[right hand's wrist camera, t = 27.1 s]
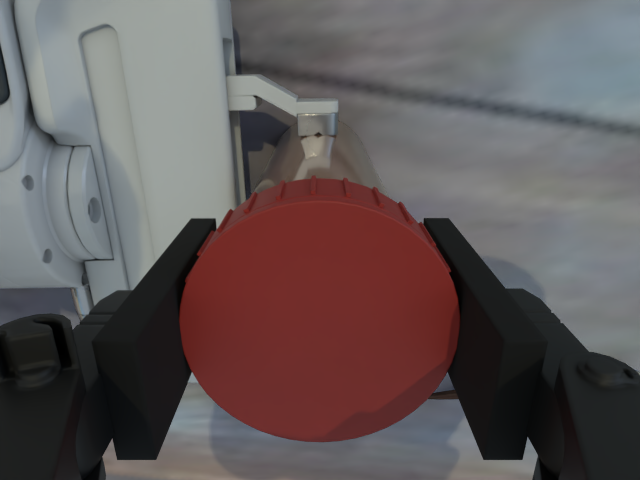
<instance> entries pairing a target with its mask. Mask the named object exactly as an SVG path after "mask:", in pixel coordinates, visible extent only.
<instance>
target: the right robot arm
mask: <svg viewBox="0 0 640 480" xmlns="http://www.w3.org/2000/svg"><path fill="white" fill-rule="evenodd" d="M423 225H424V226H425V228H426V230H427V231H428V233H429V234H430V236H431V238H432V239H433V241H434V242H435V244H436V247H437V249H438V250H439V252H440V253H441V255H442V257H443V258H444V260H445V261H446V263H447V265H448V266H449V268H450V270H451V272H449V274H450V277H451V279H452V281H453V283H454V286H455V290H456V293H457V296H458V301H459V308H460V328H459V336H458V343H457V349H456V352H455V355H454V358H453V361H452V363H451V365H450V367H449V369H448V374H449V376H450V379H451V381H452V384H453V386H454V389H455V391H456V393H457V396H458V398H459V401H460V403H461V406H462V408H463V411H464V413H465V416H466V418H467V420H468V423H469V425H470V428H471V430H472V433H473V435H474V438H475V440H476V442H477V445H478V447H479V450H480V452H481V455H482V457H483V460H522V459H523V455H524V450H525V446H526V441H527V437H528V438H529V439H530V441H531V443H532V445H533V447H534V449H535V450H536V452H537V454H538V458H537V462H536V466H535V471H534V475H533V479H532V480H640V374H639V373H638V372H637V371H635V370H634V369H632V368H631V367H630V366H628V365H627V364H625V363H623V362H621V361H619V360H616V359H614V358H612V357H610V356H606V355H602V354H598V353H594V352H589V351H588V350H587V349H586V348H585V347H584V346H583V345H582V344H581V343H580V342H579V340H578V339H577V338H576V337H575V336H574V335H573V334H572V333H571V332H570V331H569V330H568V329H567V327H566V326H565V325H564V324H563V323H560V320H559V319H558V318H557V317H556V315H555V314H554V313H551V310H550V309H549V308H548V307H547V306H546V305H545V304H544V302H543V301H542V300H541V299H540V298H538V297H536V296H534V295H533V294H531V293H529V292H527V291H526V290H524V289H505V287H504V286H503V285H502V284H501V282H500V281H499V280H498V279H497V277H496V276H495V275H494V274H493V273H492V271H491V270H490V269H489V268H488V266H487V265H486V264H485V263H484V261H483V260H482V259H481V258H480V256H479V255H478V254H477V253H476V252H475V250H474V249H473V248H472V247H471V245H470V244H469V243H468V242H467V240H466V239H465V238H464V237H463V235H462V234H461V233H460V232H459V231H458V229H457V228H456V227H455V226H454V224H453V223H452V222H451V221H450V219H449V218H424V223H423ZM216 230H217V227H216V218H191V219H190V220H189V222H188V223H187V224H186V225H185V226H184V228H183V229H182V230H181V231H180V233H179V234H178V235H177V236H176V238H175V239H174V240H173V241H172V243H171V244H170V245H169V246H168V247H167V249H166V250H165V251H164V252H163V254H162V255H161V256H160V257H159V259H158V260H157V261H156V262H155V264H154V265H153V266H152V267H151V268H150V270H149V271H148V272H147V273H146V275H145V276H144V277H143V278H142V280H141V281H140V282H139V283H138V285H137V286H136V287H135V288H134V289H133V290H117V291H115V292H113V293H112V294H110V295H108V296H107V297H105V298H103V299H101V300H100V301H99V302H98V303H97V304H96V305H95V306H94V307H93V308H92V309H91V311H90V312H89V315H86V316H85V317H84V318H83V319H82V320H81V322H80V325H77V326H76V327H75V328H74V329H73V330H72V326H71V322H70V320H69V319H68V318H66V317H65V316H63V315H57V314H38V315H32V316H28V317H23V318H19V319H17V320H14V321H11V322H9V323H6V324H4V325H2V326H0V480H105V479H106V473H105V466H104V462H103V458H102V456H103V454H104V452H105V450H106V449H107V447H108V445H109V443H110V441H111V439H112V438H113V443H114V447H115V452H116V456H117V460H156V459H157V456H158V454H159V452H160V449H161V447H162V444H163V442H164V439H165V437H166V434H167V432H168V430H169V427H170V425H171V422H172V420H173V417H174V415H175V412H176V410H177V407H178V405H179V403H180V400H181V398H182V395H183V393H184V390H185V388H186V385H187V383H188V381H189V378H190V376H191V373H192V371H191V369H190V367H189V365H188V362H187V360H186V357H185V355H184V351H183V346H182V339H181V331H180V323H179V312H180V303H181V299H182V294H183V290H184V287H185V285H186V282H185V280H186V277H187V276H188V274H189V272H190V271H191V269H192V268H193V266H194V264H195V263H196V261H197V259H198V258H199V256H198V255H197V253H198V252H199V250H200V249H201V247H202V245H203V244H204V242H205V241H206V239H207V237H208V236H209V234H210V233H211V231H214V232H215V231H216Z"/></svg>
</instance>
